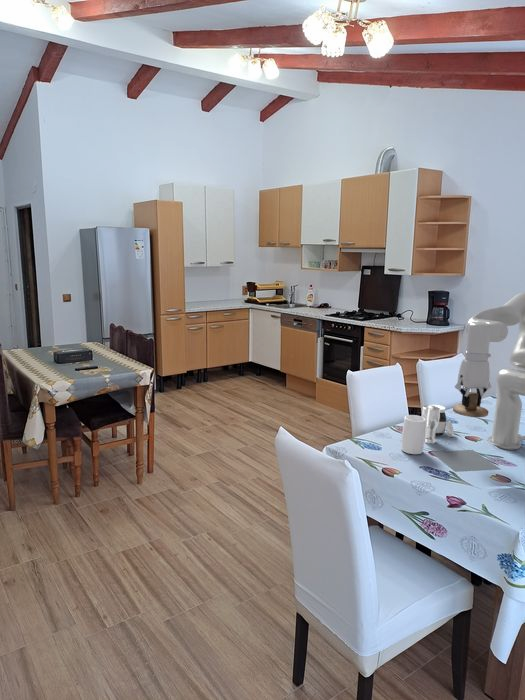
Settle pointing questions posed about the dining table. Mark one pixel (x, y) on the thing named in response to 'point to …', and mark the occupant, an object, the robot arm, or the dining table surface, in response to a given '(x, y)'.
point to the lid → (471, 407)
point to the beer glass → (431, 422)
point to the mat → (464, 460)
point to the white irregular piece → (444, 424)
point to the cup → (413, 434)
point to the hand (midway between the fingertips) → (471, 405)
